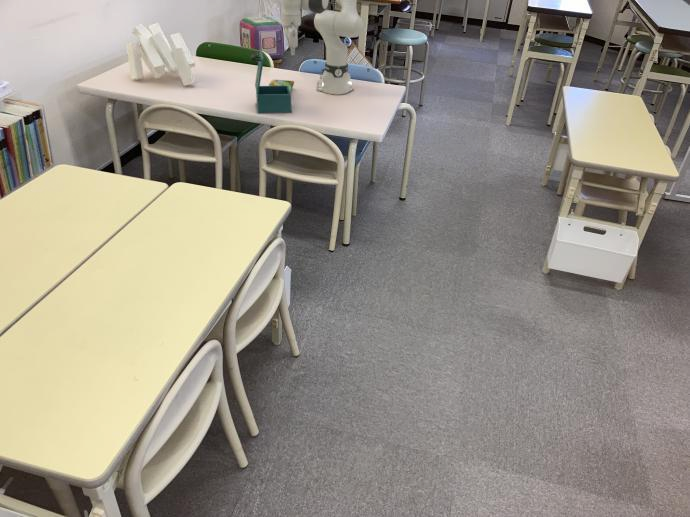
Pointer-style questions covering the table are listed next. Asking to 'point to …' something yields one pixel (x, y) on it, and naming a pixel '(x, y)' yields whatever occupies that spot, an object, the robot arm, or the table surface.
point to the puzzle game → (282, 83)
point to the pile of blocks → (159, 54)
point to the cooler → (273, 99)
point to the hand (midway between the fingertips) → (291, 51)
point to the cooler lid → (258, 69)
